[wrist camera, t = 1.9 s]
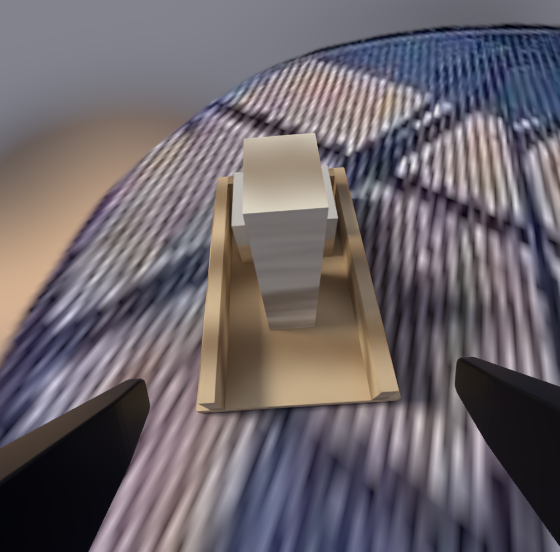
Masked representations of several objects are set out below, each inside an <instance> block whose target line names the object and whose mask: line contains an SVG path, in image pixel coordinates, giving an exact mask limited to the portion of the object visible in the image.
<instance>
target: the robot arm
mask: <svg viewBox="0 0 560 552" xmlns="http://www.w3.org/2000/svg"><path fill="white" fill-rule="evenodd" d="M455 388H456V391H457V393H458V395H459V397H460V399H461V400H462V402H463V404H464V405H465V407H466V409H467V411H468V412H469V414H470V416H471V418H472V419H473V421H474V423H475V424H476V426H477V428H478V430H479V431H480V433H481V435H482V436H483V438H484V440H485V441H486V443H487V444H488V446H489V447H490V449H491V450H492V452H493V453H494V455H495V456H496V457H497V459H498V460H499V462H500V463H501V464H502V466H503V467H504V469H505V470H506V471H507V473H508V474H509V476H510V477H511V478H512V480H513V481H514V483H515V484H516V485H517V487H518V488H519V490H520V491H521V493H522V494H523V495H524V497H525V498H526V500H527V501H528V502H529V504H530V505H531V507H532V508H533V509H534V511H535V512H536V514H537V515H538V516H539V518H540V519H541V521H542V522H543V523H544V525H545V526H546V528H547V529H548V530H549V532H550V533H551V535H552V536H553V537H554V539H555V540H556V542H557V543H558V545H559V546H560V387H559V386H556V385H553V384H551V383H548V382H545V381H542V380H539V379H536V378H533V377H530V376H527V375H525V374H522V373H519V372H516V371H513V370H510V369H507V368H504V367H502V366H499V365H496V364H493V363H490V362H487V361H484V360H481V359H479V358H476V357H464V358H459V359H458V360H457V363H456V375H455ZM149 409H150V402H149V397H148V393H147V388H146V384H145V381H144V380H143V379H129V380H126V381H125V382H123V383H121V384H119V385H117V386H115V387H113V388H112V389H110V390H108V391H106V392H104V393H102V394H100V395H98V396H97V397H95V398H93V399H91V400H89V401H87V402H85V403H84V404H82V405H80V406H78V407H76V408H74V409H72V410H71V411H69V412H67V413H65V414H63V415H61V416H59V417H58V418H56V419H54V420H52V421H50V422H48V423H46V424H45V425H43V426H41V427H39V428H37V429H35V430H33V431H31V432H30V433H28V434H26V435H24V436H22V437H20V438H18V439H17V440H15V441H13V442H11V443H9V444H7V445H5V446H4V447H2V448H0V552H88V551H89V549H90V547H91V545H92V543H93V541H94V539H95V537H96V535H97V532H98V530H99V528H100V526H101V524H102V522H103V520H104V518H105V516H106V514H107V511H108V509H109V507H110V505H111V503H112V501H113V499H114V497H115V495H116V492H117V490H118V488H119V486H120V484H121V482H122V480H123V478H124V476H125V474H126V471H127V469H128V467H129V465H130V462H131V460H132V457H133V455H134V452H135V449H136V446H137V443H138V441H139V438H140V435H141V432H142V430H143V427H144V424H145V421H146V419H147V416H148V413H149Z"/></svg>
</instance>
